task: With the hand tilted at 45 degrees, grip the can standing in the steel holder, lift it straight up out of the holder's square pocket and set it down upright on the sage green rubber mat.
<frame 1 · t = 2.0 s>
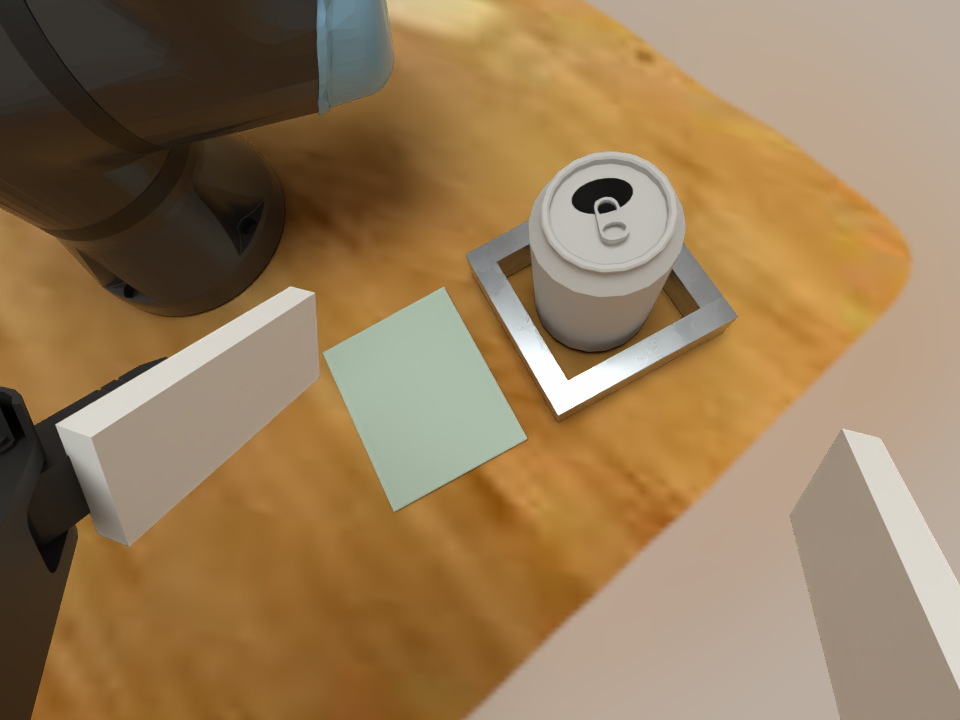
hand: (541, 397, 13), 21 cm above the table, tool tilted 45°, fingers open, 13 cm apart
mat: (421, 394, 36), on the table
can: (591, 302, 36), resting in holder
holder: (591, 301, 36), on the table
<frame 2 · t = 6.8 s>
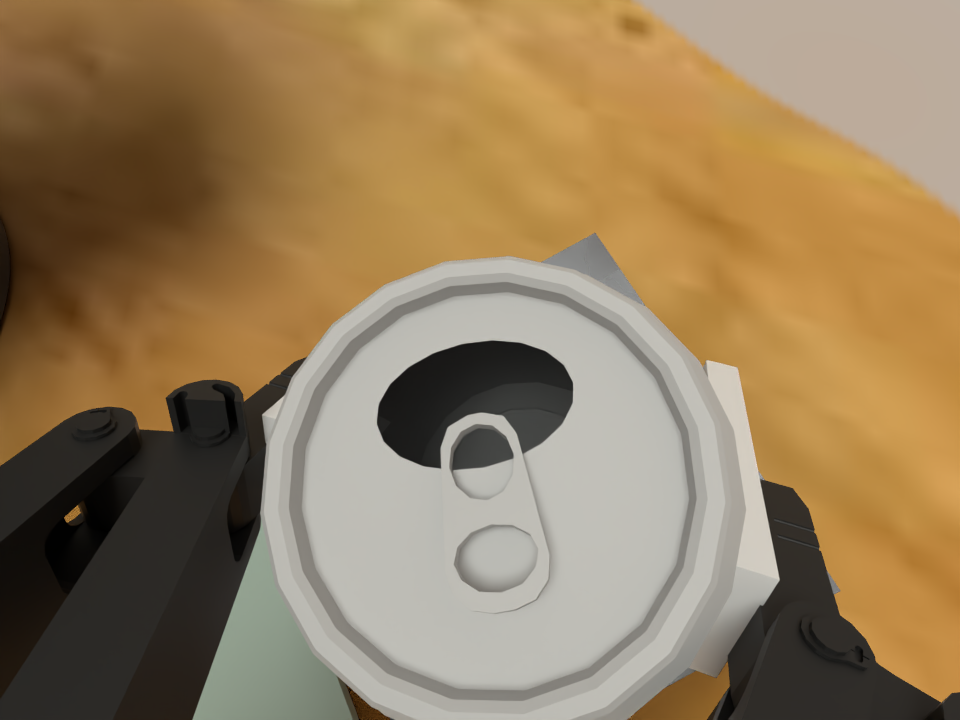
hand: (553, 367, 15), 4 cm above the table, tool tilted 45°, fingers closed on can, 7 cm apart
mat: (193, 676, 18), on the table
can: (527, 494, 18), resting in holder, touching gripper
holder: (527, 493, 18), on the table
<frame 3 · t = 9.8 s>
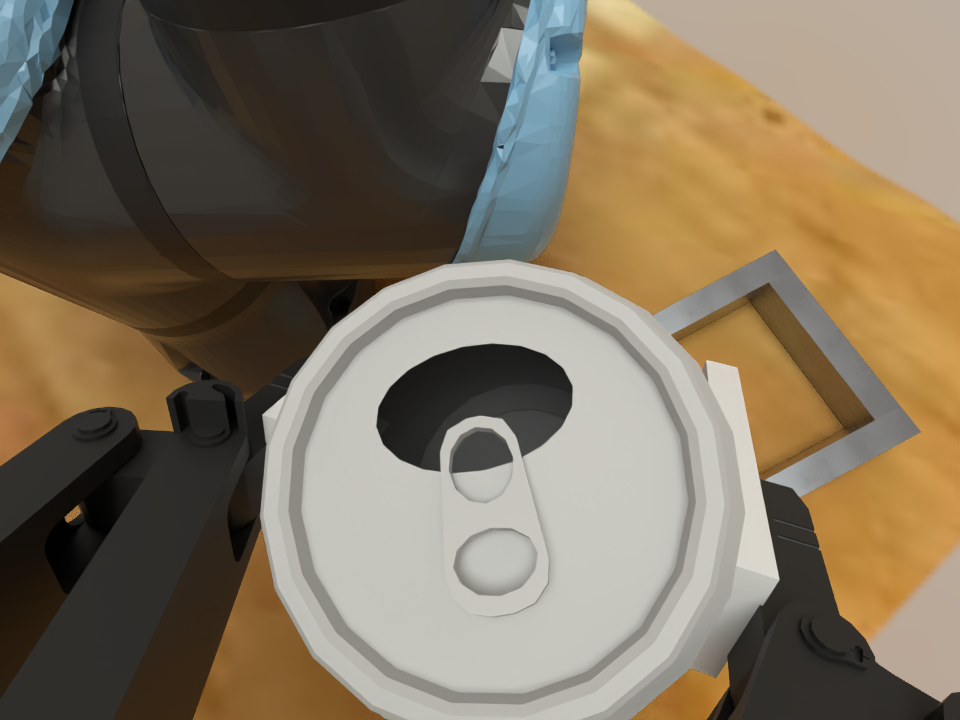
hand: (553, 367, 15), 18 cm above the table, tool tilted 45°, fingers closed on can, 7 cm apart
can: (527, 495, 18), point 14 cm above the table, touching gripper
holder: (729, 398, 32), on the table
when the fingers open (6 cm above the table, at t = 12.9 s): can drops 1 cm, resting on mat.
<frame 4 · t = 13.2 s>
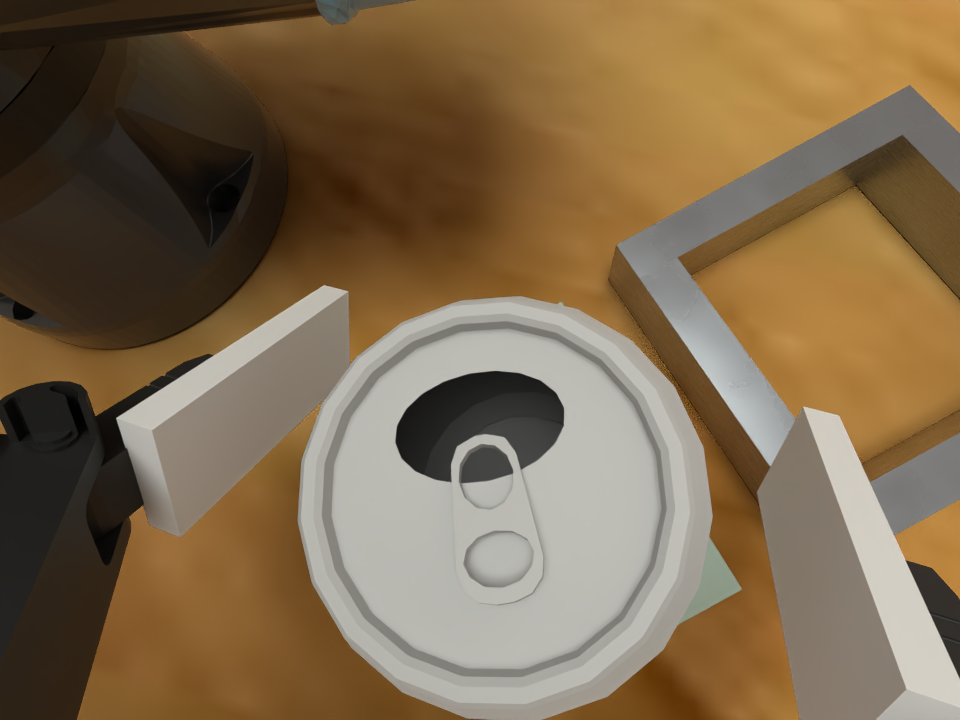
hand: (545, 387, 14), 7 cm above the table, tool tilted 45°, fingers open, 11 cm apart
mat: (529, 495, 20), on the table
can: (525, 496, 20), resting on mat
holder: (832, 329, 20), on the table
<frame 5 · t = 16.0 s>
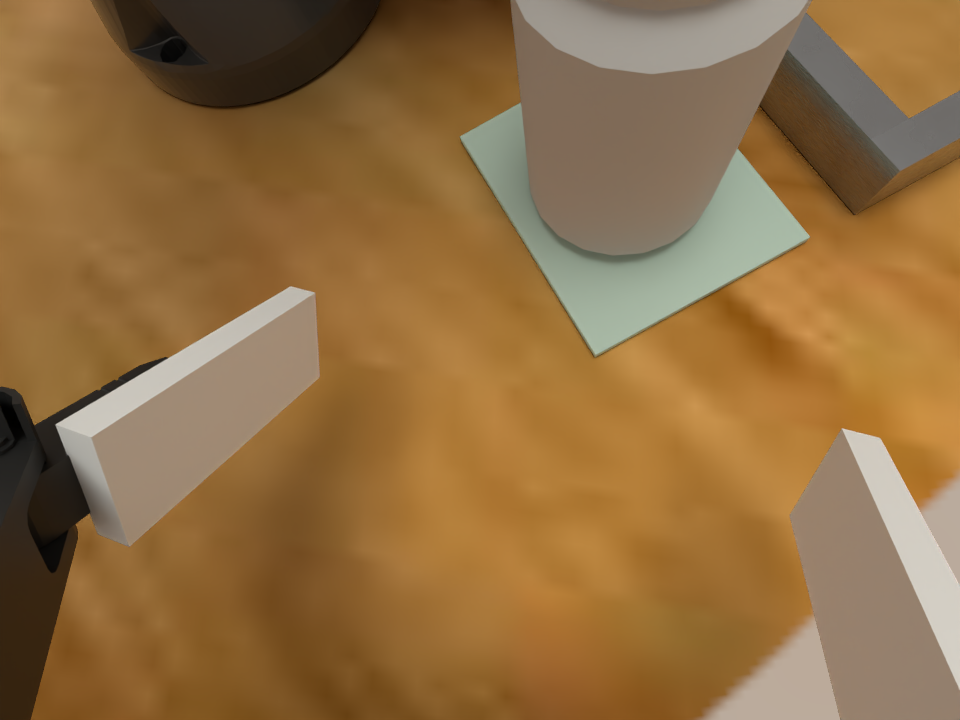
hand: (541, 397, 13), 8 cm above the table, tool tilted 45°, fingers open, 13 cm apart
mat: (620, 188, 23), on the table
can: (617, 186, 23), resting on mat
holder: (886, 40, 23), on the table
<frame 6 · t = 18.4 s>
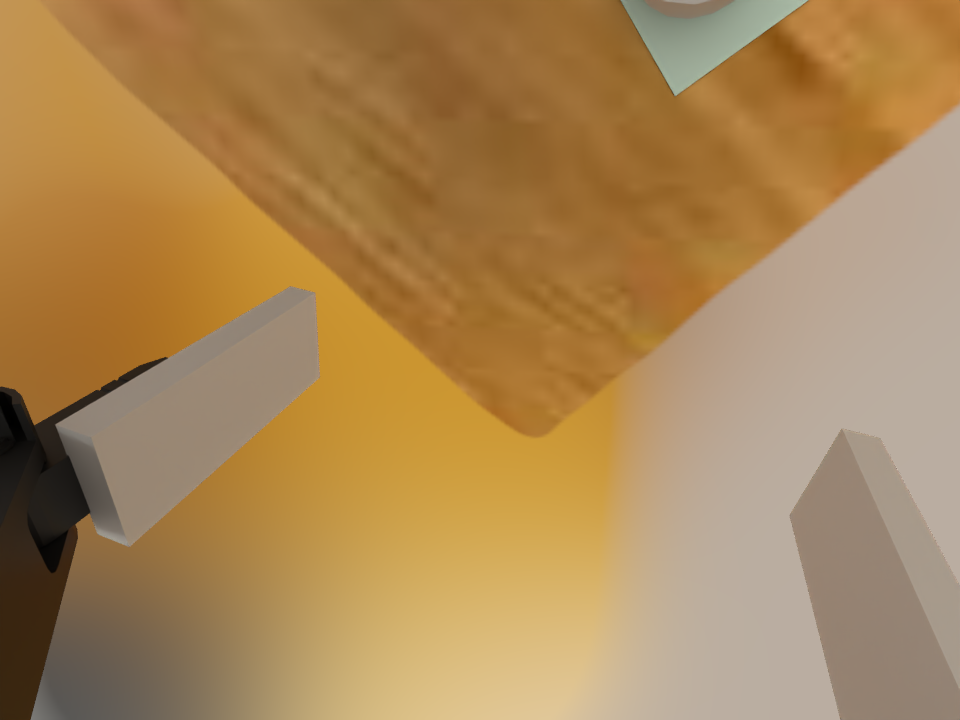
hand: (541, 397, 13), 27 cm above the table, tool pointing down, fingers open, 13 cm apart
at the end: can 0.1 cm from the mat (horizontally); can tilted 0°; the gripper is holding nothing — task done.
